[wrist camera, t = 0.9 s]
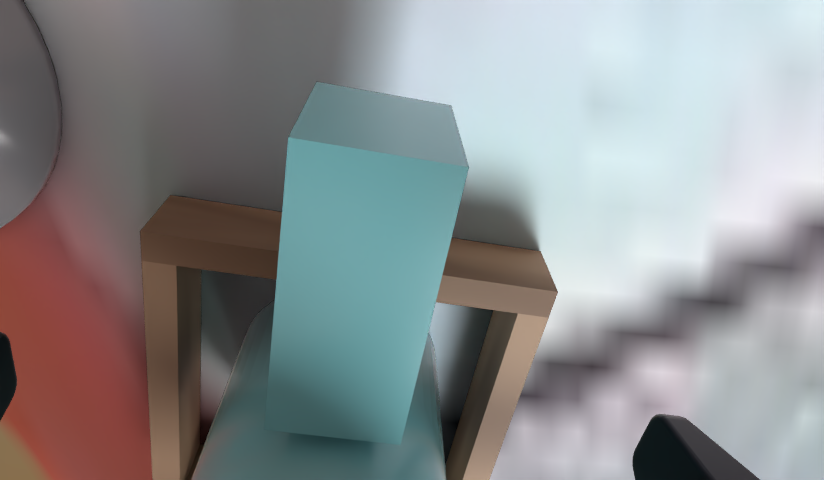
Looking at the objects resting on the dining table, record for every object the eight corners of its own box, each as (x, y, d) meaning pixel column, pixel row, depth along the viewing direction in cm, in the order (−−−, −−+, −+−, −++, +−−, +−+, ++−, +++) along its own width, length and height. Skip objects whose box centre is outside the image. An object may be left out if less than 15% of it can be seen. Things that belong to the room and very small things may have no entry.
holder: (460, 488, 21) (466, 540, 19) (175, 458, 20) (154, 510, 18) (540, 251, 16) (557, 291, 14) (170, 194, 15) (139, 231, 13)
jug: (416, 442, 20) (429, 827, 11) (237, 422, 19) (112, 813, 11) (511, 85, 14) (682, 333, 5) (257, 38, 13) (14, 241, 5)
